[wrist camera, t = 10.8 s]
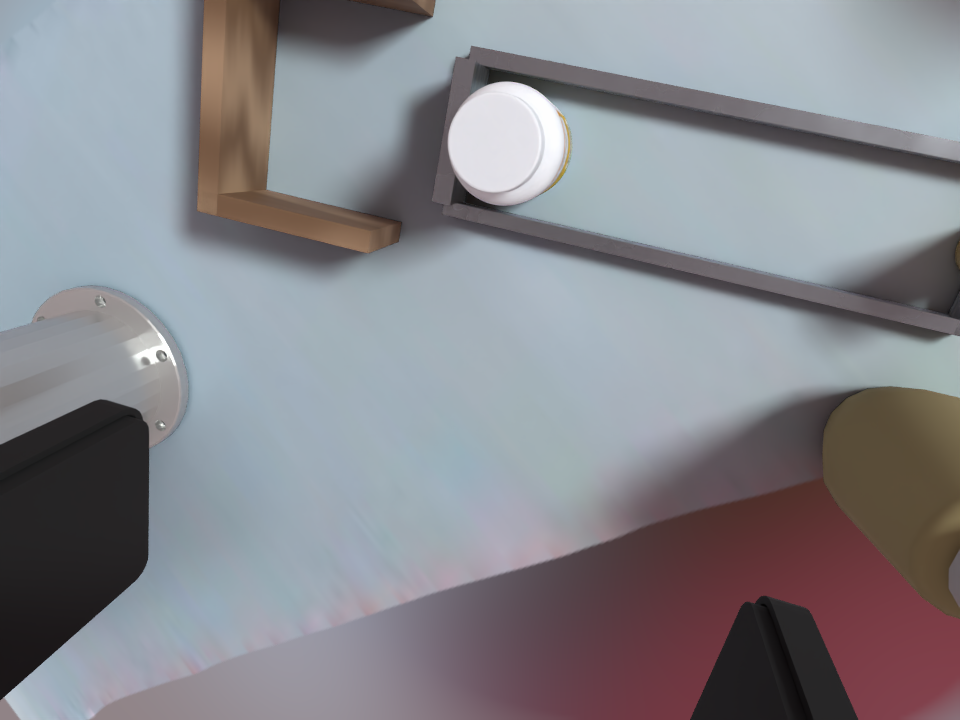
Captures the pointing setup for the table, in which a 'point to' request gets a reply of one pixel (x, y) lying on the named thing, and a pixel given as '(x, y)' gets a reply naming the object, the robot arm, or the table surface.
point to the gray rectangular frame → (476, 74)
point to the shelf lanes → (263, 130)
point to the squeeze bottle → (902, 482)
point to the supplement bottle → (508, 144)
